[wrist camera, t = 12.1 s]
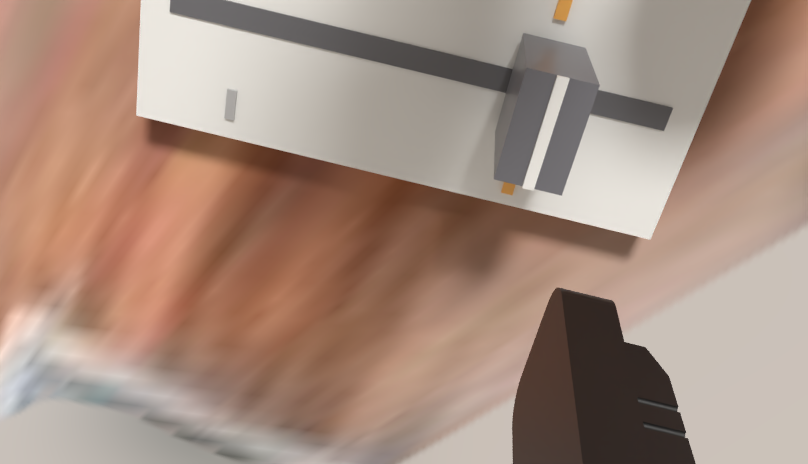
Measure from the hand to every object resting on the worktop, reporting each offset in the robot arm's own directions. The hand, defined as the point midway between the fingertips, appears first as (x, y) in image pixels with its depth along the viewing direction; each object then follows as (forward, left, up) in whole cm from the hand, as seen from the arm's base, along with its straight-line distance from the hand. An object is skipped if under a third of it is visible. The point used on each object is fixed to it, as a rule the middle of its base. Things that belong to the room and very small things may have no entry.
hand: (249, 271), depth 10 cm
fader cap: (+4, +6, -28) cm, 29 cm away
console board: (+4, 0, -30) cm, 30 cm away
